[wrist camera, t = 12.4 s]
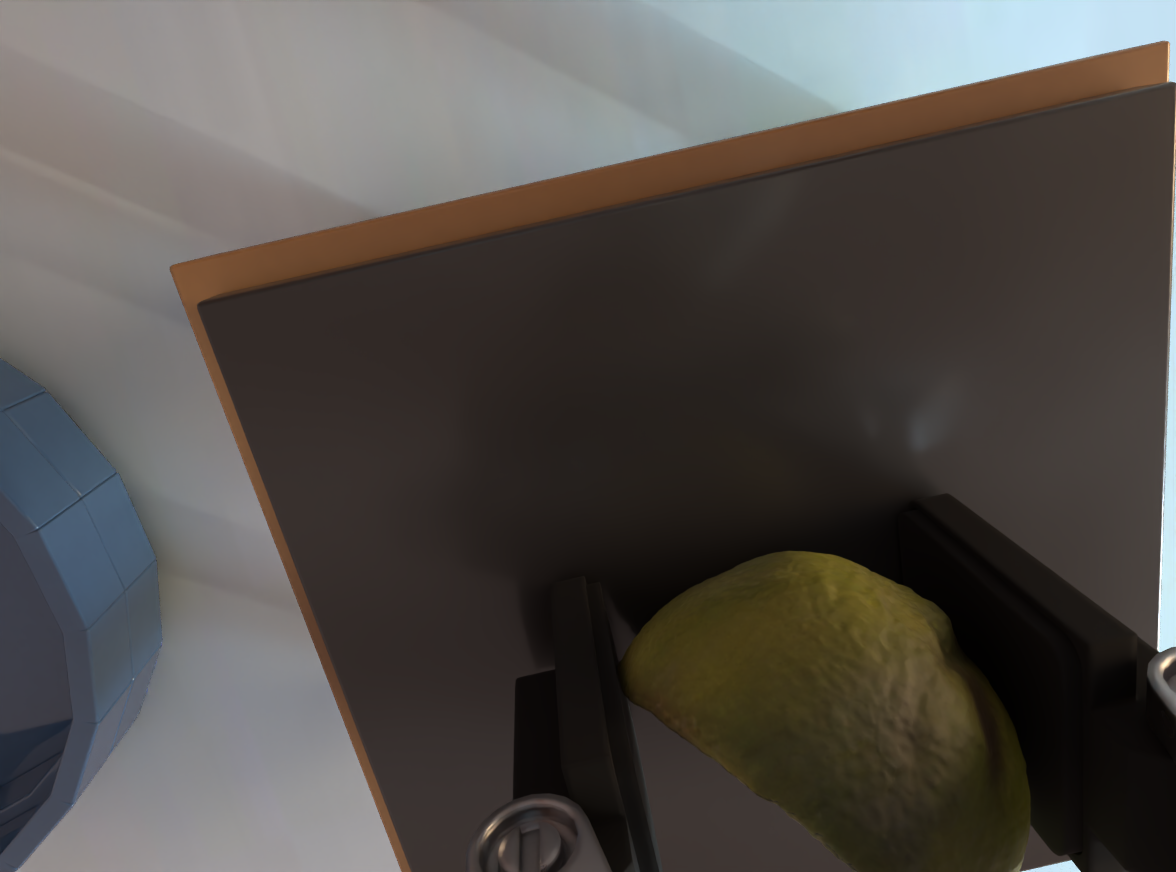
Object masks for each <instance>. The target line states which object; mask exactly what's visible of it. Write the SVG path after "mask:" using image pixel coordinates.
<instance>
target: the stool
mask: <svg viewBox="0 0 1176 872" xmlns="http://www.w3.org/2000/svg"><path fill="white" fill-rule="evenodd" d="M1169 54H1170V44H1169V42H1168V41H1160V42H1156V43H1151V44H1146V45H1142V46H1137V47H1132V48H1128V49H1123V50H1118V51H1114V52H1109V53H1104V54H1100V55H1095V56H1090V57H1086V58H1082V59H1077V60H1073V61H1068V62H1064V63H1059V64H1055V65H1051V66H1046V67H1042V68H1037V69H1033V70H1029V71H1024V72H1020V73H1015V74H1011V75H1006V76H1002V77H998V78H993V79H989V80H984V81H980V82H975V83H971V84H967V85H962V86H958V87H953V88H949V89H945V90H940V91H936V92H931V93H927V94H922V95H918V96H914V97H909V98H905V99H900V100H896V101H891V102H887V103H883V104H878V105H874V106H869V107H865V108H860V109H856V110H852V111H847V112H843V113H838V114H834V115H830V116H825V117H821V118H816V119H812V120H807V121H803V122H799V123H794V124H790V125H785V126H781V127H776V128H772V129H768V130H763V131H759V132H754V133H750V134H746V135H741V136H737V137H732V138H728V139H723V140H719V141H715V142H710V143H706V144H701V145H697V146H692V147H688V148H684V149H679V150H675V151H670V152H666V153H661V154H657V155H653V156H648V157H644V158H639V159H635V160H631V161H626V162H622V163H617V164H613V165H608V166H604V167H600V168H595V169H591V170H586V171H582V172H577V173H573V174H569V175H564V176H560V177H555V178H551V179H547V180H542V181H538V182H533V183H529V184H524V185H520V186H516V187H511V188H507V189H502V190H498V191H493V192H489V193H485V194H480V195H476V196H471V197H467V198H462V199H458V200H454V201H449V202H445V203H440V204H436V205H432V206H427V207H423V208H418V209H414V210H409V211H405V212H401V213H396V214H392V215H387V216H383V217H378V218H374V219H370V220H365V221H361V222H356V223H352V224H347V225H343V226H339V227H334V228H330V229H325V230H321V231H317V232H312V233H308V234H303V235H299V236H294V237H290V238H286V239H281V240H277V241H272V242H268V243H263V244H259V245H255V246H250V247H246V248H241V249H237V250H233V251H228V252H224V253H219V254H215V255H210V256H206V257H202V258H198V259H194V260H190V261H186V262H182V263H178V264H174V265H172V266H171V267H170V272H171V274H172V277H173V280H174V282H175V285H176V287H177V290H178V293H179V295H180V298H181V300H182V303H183V306H184V308H185V311H186V313H187V316H188V319H189V321H190V324H191V326H192V329H193V332H194V334H195V337H196V339H197V342H198V345H199V347H200V350H201V352H202V355H203V357H204V360H205V363H206V365H207V368H208V370H209V373H210V376H211V378H212V381H213V383H214V386H215V389H216V391H217V394H218V396H219V399H220V402H221V404H222V407H223V409H224V412H225V415H226V417H227V420H228V422H229V425H230V428H231V430H232V433H233V435H234V438H235V441H236V443H237V446H238V448H239V451H240V453H241V456H242V459H243V461H244V464H245V466H246V469H247V472H248V474H249V477H250V479H251V482H252V485H253V487H254V490H255V492H256V495H257V498H258V500H259V503H260V505H261V508H262V511H263V513H264V516H265V518H266V521H267V524H268V526H269V529H270V531H271V534H272V537H273V539H274V542H275V544H276V547H277V549H278V552H279V555H280V557H281V560H282V562H283V565H284V568H285V570H286V573H287V575H288V578H289V581H290V583H291V586H292V588H293V591H294V594H295V596H296V599H297V601H298V604H299V607H300V609H301V612H302V614H303V617H304V620H305V622H306V625H307V627H308V630H309V633H310V635H311V638H312V640H313V643H314V645H315V648H316V651H317V653H318V656H319V658H320V661H321V664H322V666H323V669H324V671H325V674H326V677H327V679H328V682H329V684H330V687H331V690H332V692H333V695H334V697H335V700H336V703H337V705H338V708H339V710H340V713H341V716H342V718H343V721H344V723H345V726H346V728H347V731H348V734H349V736H350V739H351V741H352V744H353V747H354V749H355V752H356V754H357V757H358V760H359V762H360V765H361V767H362V770H363V773H364V775H365V778H366V780H367V783H368V786H369V788H370V791H371V793H372V796H373V799H374V801H375V804H376V806H377V809H378V812H379V814H380V817H381V819H382V822H383V824H384V827H385V830H386V832H387V835H388V837H389V840H390V843H391V845H392V848H393V850H394V853H395V856H396V858H397V861H398V863H399V866H400V869H401V871H402V872H466V852H467V849H468V846H469V843H470V840H471V837H472V836H473V835H474V833H475V832H476V830H477V829H478V827H479V826H480V824H481V823H482V822H483V821H484V820H485V819H486V818H487V817H488V816H490V815H491V814H492V813H493V812H494V811H495V810H496V809H498V808H500V807H502V806H503V805H505V804H507V803H509V802H510V801H512V800H513V764H514V715H515V683H516V679H517V678H519V677H523V676H527V675H532V674H536V673H540V672H545V671H549V670H554V669H555V657H554V640H553V624H552V608H551V591H550V584H551V583H555V582H559V581H564V580H568V579H573V578H577V577H581V576H584V577H585V580H586V583H587V585H588V584H592V583H597V582H600V585H601V589H602V594H603V598H604V602H605V606H606V611H607V615H608V619H609V623H610V627H611V632H612V636H613V640H614V644H615V649H616V653H617V657H618V661H619V662H620V661H621V660H622V658H623V656H624V654H625V652H626V650H627V648H628V647H629V646H630V644H631V643H632V641H633V639H634V638H635V637H636V636H637V635H638V634H639V632H640V631H641V629H642V627H643V626H644V625H645V624H646V623H647V622H648V621H650V620H651V619H652V617H653V616H654V615H655V614H656V613H657V612H658V611H659V610H660V609H662V608H663V607H664V606H665V605H666V604H668V603H669V602H670V601H671V600H672V599H674V598H675V597H677V596H678V595H679V594H681V593H683V592H685V591H686V590H687V589H689V588H691V587H693V586H695V585H697V584H700V583H702V582H703V581H705V580H707V579H709V578H712V577H715V576H718V575H719V574H721V573H724V572H726V571H728V570H731V569H733V568H734V567H735V566H737V565H739V564H741V563H744V562H747V561H750V560H752V559H754V558H757V557H761V556H764V555H767V554H770V553H775V552H783V551H805V552H814V553H823V554H832V555H835V556H839V557H842V558H844V559H847V560H850V561H852V562H854V563H857V564H859V565H861V566H863V567H865V568H867V569H869V570H870V571H871V572H875V573H877V574H879V575H881V576H883V577H885V578H887V579H890V580H892V581H894V582H896V583H897V584H900V585H904V584H903V573H902V562H901V551H900V540H899V529H898V517H899V514H900V513H903V512H907V508H908V504H909V503H910V501H914V500H919V499H923V498H927V497H932V496H936V495H941V494H945V493H948V494H950V495H952V496H953V497H955V498H956V499H957V500H959V501H960V502H961V503H963V504H964V505H965V506H967V507H968V508H969V509H971V510H972V511H973V512H975V513H976V514H977V515H979V516H980V517H981V518H983V519H984V520H985V521H987V522H988V523H989V524H991V525H992V526H993V527H995V528H996V529H997V530H999V531H1000V532H1001V533H1003V534H1004V535H1006V536H1007V537H1008V538H1010V539H1011V540H1012V541H1014V542H1015V543H1016V544H1018V545H1019V546H1020V547H1022V548H1023V549H1024V550H1026V551H1027V552H1028V553H1030V554H1031V555H1032V556H1034V557H1035V558H1036V559H1038V560H1039V561H1040V562H1042V563H1043V564H1044V565H1046V566H1047V567H1048V568H1050V569H1051V570H1052V571H1054V572H1055V573H1056V574H1058V575H1059V576H1060V577H1062V578H1063V579H1064V580H1066V581H1067V582H1068V583H1070V584H1071V585H1072V586H1074V587H1075V588H1076V589H1078V590H1079V591H1080V592H1082V593H1083V594H1084V595H1086V596H1087V597H1088V598H1090V599H1091V600H1092V601H1094V602H1095V603H1096V604H1098V605H1099V606H1100V607H1102V608H1103V609H1104V610H1106V611H1107V612H1108V613H1110V614H1111V615H1112V616H1114V617H1115V618H1116V619H1118V620H1119V621H1120V622H1122V623H1123V624H1124V625H1126V626H1127V627H1128V628H1130V629H1131V630H1132V631H1134V632H1135V633H1136V634H1138V637H1140V638H1141V639H1142V640H1144V641H1145V642H1146V643H1148V644H1149V645H1150V646H1152V647H1153V648H1154V649H1156V650H1157V651H1158V652H1159V640H1160V611H1161V582H1162V552H1163V523H1164V494H1165V464H1166V435H1167V406H1168V376H1169V347H1170V318H1171V289H1172V259H1173V230H1174V201H1175V171H1176V83H1174V82H1169ZM627 699H628V704H629V708H630V712H631V716H632V721H633V725H634V729H635V734H636V739H637V743H638V748H639V753H640V758H641V763H642V768H643V773H644V778H645V783H646V789H647V794H648V799H649V804H650V809H651V814H652V819H653V824H654V829H655V834H656V839H657V844H658V849H659V854H660V859H661V864H662V869H663V872H852V869H850V868H849V867H848V866H847V865H846V864H845V863H844V862H842V861H841V860H839V859H837V858H836V857H835V856H834V855H833V854H832V853H831V852H830V851H829V850H827V849H826V848H825V847H824V846H823V844H822V843H821V842H820V841H819V840H817V839H815V838H813V837H812V836H811V835H810V834H809V833H808V831H807V830H806V829H805V828H804V827H803V826H802V825H800V824H799V823H798V822H797V821H795V820H794V819H792V818H790V817H789V816H788V815H787V814H786V813H785V811H784V810H782V809H781V808H780V807H779V806H778V805H776V804H774V803H771V802H768V801H766V800H764V799H762V798H760V797H758V796H757V795H756V794H755V793H754V792H752V791H751V790H750V789H749V788H748V787H747V786H745V785H744V784H742V783H741V782H740V781H739V780H738V779H737V778H736V777H734V776H733V775H731V774H729V773H728V772H727V771H726V770H725V769H724V768H723V767H722V766H721V765H720V764H719V763H717V762H716V761H715V760H713V759H712V758H710V757H708V756H706V755H705V754H703V753H702V752H700V751H699V750H698V749H697V748H696V747H695V746H693V745H692V744H690V743H689V742H688V741H686V740H684V739H683V738H681V737H680V736H679V735H678V734H677V733H676V732H673V731H671V730H670V729H669V728H667V727H666V726H665V725H664V723H663V722H661V721H659V720H658V719H657V718H656V717H655V716H654V715H653V714H652V713H651V712H649V711H646V710H645V709H642V708H641V707H639V706H636V705H634V704H633V703H632V702H630V701H629V698H627ZM1070 860H1071V859H1070V857H1069V856H1068V855H1064V856H1057V855H1056V854H1054V853H1053V852H1052V851H1051V850H1050V849H1049V848H1048V846H1047V845H1046V844H1045V843H1044V841H1043V840H1042V839H1041V837H1040V836H1039V835H1038V834H1037V832H1036V831H1035V830H1034V828H1033V827H1032V826H1031V825H1030V831H1029V838H1028V843H1027V846H1026V850H1025V854H1024V859H1023V862H1022V866H1021V869H1020V871H1019V872H1022V871H1026V870H1030V869H1035V868H1039V867H1043V866H1048V865H1052V864H1057V863H1061V862H1065V861H1070Z"/></svg>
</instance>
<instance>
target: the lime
mask: <svg viewBox="0 0 1176 872" xmlns="http://www.w3.org/2000/svg"><path fill="white" fill-rule="evenodd" d="M617 670H618V678H619V681H620V685H621V689H622V691H623V694H624V696H625V697H627V698H629V701H630V702H632V703H633V704H634V705H636V706H639V707H641V708H642V709H645V710H646V711H649V712H651V713H652V714H653V715H654V716H655V717H656V718H657V719H658V720H659V721H661V722H663V723H664V725H665V726H666V727H667V728H669V729H670V730H671V731H673V732H676V733H677V734H678V735H679V736H680V737H681V738H683V739H684V740H686V741H688V742H689V743H690V744H692V745H693V746H695V747H696V748H697V749H698V750H699V751H700V752H702V753H703V754H705V755H706V756H708V757H710V758H712V759H713V760H715V761H716V762H717V763H719V764H720V765H721V766H722V767H723V768H724V769H725V770H726V771H727V772H728V773H729V774H731V775H733V776H734V777H736V778H737V779H738V780H739V781H740V782H741V783H742V784H744V785H745V786H747V787H748V788H749V789H750V790H751V791H752V792H754V793H755V794H756V795H757V796H758V797H760V798H762V799H764V800H766V801H768V802H771V803H774V804H776V805H778V806H779V807H780V808H781V809H782V810H784V811H785V813H786V814H787V815H788V816H789V817H790V818H792V819H794V820H795V821H797V822H798V823H799V824H800V825H802V826H803V827H804V828H805V829H806V830H807V831H808V833H809V834H810V835H811V836H812V837H813V838H815V839H817V840H819V841H820V842H821V843H822V844H823V846H824V847H825V848H826V849H827V850H829V851H830V852H831V853H832V854H833V855H834V856H835V857H836V858H837V859H839V860H841V861H842V862H844V863H845V864H846V865H847V866H848V867H849V868H850V869H852V872H1019V871H1020V869H1021V866H1022V862H1023V859H1024V854H1025V850H1026V846H1027V843H1028V838H1029V831H1030V812H1031V807H1030V800H1031V799H1030V789H1029V785H1028V777H1027V774H1026V768H1027V766H1026V761H1025V759H1024V756H1023V754H1022V750H1021V747H1020V743H1019V740H1018V735H1017V732H1016V729H1015V727H1014V724H1013V722H1012V720H1011V718H1010V716H1009V714H1008V712H1007V710H1006V708H1005V707H1004V705H1003V703H1002V702H1001V700H1000V698H999V697H998V695H997V694H996V692H995V691H994V689H993V688H992V686H991V685H990V683H989V681H988V679H987V678H986V676H985V675H984V674H983V673H982V671H981V670H980V669H979V668H978V667H977V666H976V664H975V663H974V662H973V661H972V660H971V659H969V658H968V657H967V656H966V654H965V653H964V652H963V650H962V649H961V647H960V646H959V644H958V641H957V638H956V636H955V634H954V631H953V628H952V623H951V620H950V619H949V617H948V616H947V615H946V614H945V612H944V611H943V610H941V609H940V608H939V607H938V606H937V605H936V604H935V603H933V602H931V601H929V600H927V599H924V598H922V597H920V596H919V595H918V594H916V593H915V592H914V591H913V590H912V589H911V588H909V587H906V586H904V585H900V584H897V583H896V582H894V581H892V580H890V579H887V578H885V577H883V576H881V575H879V574H877V573H875V572H871V571H870V570H869V569H867V568H865V567H863V566H861V565H859V564H857V563H854V562H852V561H850V560H847V559H844V558H842V557H839V556H835V555H832V554H823V553H814V552H805V551H783V552H775V553H770V554H767V555H764V556H761V557H757V558H754V559H752V560H750V561H747V562H744V563H741V564H739V565H737V566H735V567H734V568H733V569H731V570H728V571H726V572H724V573H721V574H719V575H718V576H715V577H712V578H709V579H707V580H705V581H703V582H702V583H700V584H697V585H695V586H693V587H691V588H689V589H687V590H686V591H685V592H683V593H681V594H679V595H678V596H677V597H675V598H674V599H672V600H671V601H670V602H669V603H668V604H666V605H665V606H664V607H663V608H662V609H660V610H659V611H658V612H657V613H656V614H655V615H654V616H653V617H652V619H651V620H650V621H648V622H647V623H646V624H645V625H644V626H643V627H642V629H641V631H640V632H639V634H638V635H637V636H636V637H635V638H634V639H633V641H632V643H631V644H630V646H629V647H628V648H627V650H626V652H625V654H624V656H623V658H622V660H621V661H620V662H619V664H618V666H617Z"/></svg>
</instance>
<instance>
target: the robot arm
mask: <svg viewBox="0 0 1176 872" xmlns="http://www.w3.org/2000/svg"><path fill="white" fill-rule="evenodd" d="M898 529H899V540H900V551H901V562H902V573H903V584H904V586H906V587H909V588H911V589H912V590H913V591H914V592H915V593H916V594H918V595H919V596H920V597H922V598H924V599H927V600H929V601H931V602H933V603H935V604H936V605H937V606H938V607H939V608H940V609H941V610H943V611H944V612H945V614H946V615H947V616H948V617H949V619H950V620H951V623H952V628H953V631H954V634H955V636H956V638H957V641H958V644H959V646H960V647H961V649H962V650H963V652H964V653H965V654H966V656H967V657H968V658H969V659H971V660H972V661H973V662H974V663H975V664H976V666H977V667H978V668H979V669H980V670H981V671H982V673H983V674H984V675H985V676H986V678H987V679H988V681H989V683H990V685H991V686H992V688H993V689H994V691H995V692H996V694H997V695H998V697H999V698H1000V700H1001V702H1002V703H1003V705H1004V707H1005V708H1006V710H1007V712H1008V714H1009V716H1010V718H1011V720H1012V722H1013V724H1014V727H1015V729H1016V732H1017V735H1018V740H1019V743H1020V747H1021V750H1022V754H1023V756H1024V759H1025V761H1026V766H1027V768H1026V774H1027V777H1028V785H1029V789H1030V799H1031V800H1030V807H1031V812H1030V825H1031V826H1032V827H1033V828H1034V830H1035V831H1036V832H1037V834H1038V835H1039V836H1040V837H1041V839H1042V840H1043V841H1044V843H1045V844H1046V845H1047V846H1048V848H1049V849H1050V850H1051V851H1052V852H1053V853H1054V854H1056V855H1057V856H1064V855H1068V856H1069V857H1070V859H1071V860H1072V861H1073V862H1074V864H1075V865H1076V866H1077V867H1078V869H1079V870H1080V871H1081V872H1176V647H1172V648H1169V649H1167V650H1165V651H1162V652H1158V651H1157V650H1156V649H1154V648H1153V647H1152V646H1150V645H1149V644H1148V643H1146V642H1145V641H1144V640H1142V639H1141V638H1140V637H1138V634H1136V633H1135V632H1134V631H1132V630H1131V629H1130V628H1128V627H1127V626H1126V625H1124V624H1123V623H1122V622H1120V621H1119V620H1118V619H1116V618H1115V617H1114V616H1112V615H1111V614H1110V613H1108V612H1107V611H1106V610H1104V609H1103V608H1102V607H1100V606H1099V605H1098V604H1096V603H1095V602H1094V601H1092V600H1091V599H1090V598H1088V597H1087V596H1086V595H1084V594H1083V593H1082V592H1080V591H1079V590H1078V589H1076V588H1075V587H1074V586H1072V585H1071V584H1070V583H1068V582H1067V581H1066V580H1064V579H1063V578H1062V577H1060V576H1059V575H1058V574H1056V573H1055V572H1054V571H1052V570H1051V569H1050V568H1048V567H1047V566H1046V565H1044V564H1043V563H1042V562H1040V561H1039V560H1038V559H1036V558H1035V557H1034V556H1032V555H1031V554H1030V553H1028V552H1027V551H1026V550H1024V549H1023V548H1022V547H1020V546H1019V545H1018V544H1016V543H1015V542H1014V541H1012V540H1011V539H1010V538H1008V537H1007V536H1006V535H1004V534H1003V533H1001V532H1000V531H999V530H997V529H996V528H995V527H993V526H992V525H991V524H989V523H988V522H987V521H985V520H984V519H983V518H981V517H980V516H979V515H977V514H976V513H975V512H973V511H972V510H971V509H969V508H968V507H967V506H965V505H964V504H963V503H961V502H960V501H959V500H957V499H956V498H955V497H953V496H952V495H950V494H948V493H945V494H941V495H936V496H932V497H927V498H923V499H919V500H914V501H910V503H909V504H908V508H907V512H903V513H900V514H899V517H898ZM550 591H551V608H552V624H553V640H554V657H555V669H554V670H549V671H545V672H540V673H536V674H532V675H527V676H523V677H519V678H517V679H516V683H515V715H514V764H513V800H512V801H510V802H509V803H507V804H505V805H503V806H502V807H500V808H498V809H496V810H495V811H494V812H493V813H492V814H491V815H490V816H488V817H487V818H486V819H485V820H484V821H483V822H482V823H481V824H480V826H479V827H478V829H477V830H476V832H475V833H474V835H473V836H472V837H471V840H470V843H469V846H468V849H467V852H466V872H663V869H662V864H661V859H660V854H659V849H658V844H657V839H656V834H655V829H654V824H653V819H652V814H651V809H650V804H649V799H648V794H647V789H646V783H645V778H644V773H643V768H642V763H641V758H640V753H639V748H638V743H637V739H636V734H635V729H634V725H633V721H632V716H631V712H630V708H629V704H628V699H627V697H625V696H624V694H623V691H622V689H621V685H620V681H619V678H618V670H617V666H618V664H619V661H618V657H617V653H616V649H615V644H614V640H613V636H612V632H611V627H610V623H609V619H608V615H607V611H606V606H605V602H604V598H603V594H602V589H601V585H600V582H597V583H592V584H588V585H587V583H586V580H585V577H584V576H581V577H577V578H573V579H568V580H564V581H559V582H555V583H551V584H550Z"/></svg>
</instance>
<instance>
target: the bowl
mask: <svg viewBox="0 0 1176 872" xmlns="http://www.w3.org/2000/svg"><path fill="white" fill-rule="evenodd" d="M45 391H46V389H45V388H44V387H42V386H41V385H39V384H38V383H37V382H35V381H34V380H32V379H31V378H29V377H28V376H26V375H25V374H23V373H22V372H20V371H19V370H17V369H16V368H15V367H13V366H12V365H10V364H9V363H7V362H6V361H4V360H3V359H1V358H0V872H15V871H16V870H18V868H20V867H21V866H22V865H23V864H24V863H25V862H26V861H27V859H28V858H29V857H30V856H31V855H32V854H33V852H34V851H35V850H36V849H37V848H38V847H39V845H40V844H41V843H42V842H43V841H44V840H45V838H46V837H47V836H48V835H49V834H50V833H51V831H52V830H53V829H54V828H55V827H56V826H57V824H58V823H59V822H60V821H61V820H62V819H63V817H64V816H65V815H66V814H67V813H68V812H69V810H70V809H71V808H72V807H73V806H74V804H75V803H76V802H77V800H78V799H79V797H80V796H81V795H82V793H83V792H84V790H85V789H86V788H87V786H88V785H89V783H90V782H91V781H92V779H93V778H94V777H95V775H96V774H97V772H98V771H99V770H100V768H101V767H102V765H103V764H104V763H105V761H106V760H107V758H108V757H109V756H110V754H111V753H112V751H113V750H114V749H115V747H116V746H117V745H118V743H119V742H120V740H121V739H122V738H123V736H124V735H125V733H126V732H127V731H128V729H129V728H130V726H131V725H132V724H133V722H134V721H135V720H136V718H137V716H138V714H139V713H140V710H141V707H142V704H143V701H144V698H145V695H146V691H147V688H148V685H149V682H150V679H151V676H152V673H153V670H154V667H155V664H156V661H157V658H158V655H159V651H160V648H161V642H162V640H163V639H162V625H161V612H160V598H159V585H158V572H157V560H156V556H155V553H154V551H153V549H152V547H151V544H150V542H149V540H148V538H147V535H146V533H145V531H144V529H143V526H142V524H141V522H140V520H139V518H138V515H137V513H136V511H135V509H134V506H133V504H132V502H131V500H130V497H129V495H128V493H127V491H126V488H125V486H124V484H123V482H122V479H121V477H120V475H119V473H116V470H115V469H114V467H113V466H112V465H111V464H110V463H109V462H108V461H107V459H106V458H105V457H104V456H103V455H102V454H101V452H100V451H99V450H98V449H97V448H96V447H95V445H94V444H93V443H92V442H91V441H90V440H89V439H88V437H87V436H86V435H85V434H84V433H83V432H82V430H81V429H80V428H79V427H78V426H77V425H76V423H75V422H74V421H73V420H72V419H71V418H70V417H69V415H68V414H67V413H66V412H65V411H64V410H63V408H62V407H61V406H60V405H59V404H58V403H57V401H56V400H55V399H54V398H53V397H52V396H51V395H50V393H48V392H45Z"/></svg>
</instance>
